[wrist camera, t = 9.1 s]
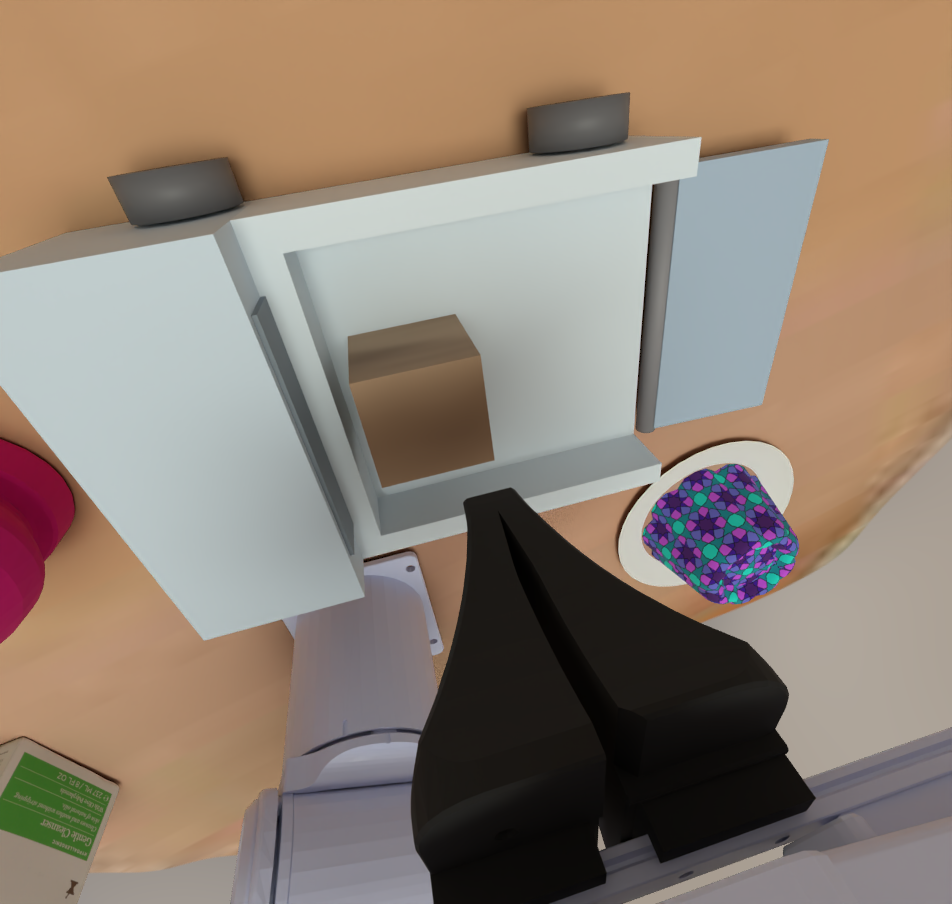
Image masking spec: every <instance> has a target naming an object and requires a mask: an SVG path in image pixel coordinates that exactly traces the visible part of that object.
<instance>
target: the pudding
mask: <svg viewBox="0 0 952 904" xmlns="http://www.w3.org/2000/svg"><path fill="white" fill-rule="evenodd" d="M723 463H737V464H728V465H725V466H724V467H722V468H720V469H718V470H717V471H712V470H709V469H703V470H700V469H702V468H705V467H708V466H712V465H716V464H723ZM738 464H741V465H744V466H747V467H748V468H750V469H752V470H753V471H754V472H755V473H756V474H757V476H758V478H759V480H760V481H759V480H758V478H757V477H756V476H750V475H749V474H748V472H747V471H746V469H745V468H744V467H743V466H740V465H738ZM697 470H700V471H697ZM695 471H697V472H695ZM693 472H694V473H693ZM691 473H693V474H691ZM689 474H691V475H690V476H688V477H687V478H685V479H684V480H683V482H682V483H681V485H680V486H679V488H678V489H677V490H674V491H672V492H669V493H666V494H665V495H664V496H663V497H661V496H662V494H663V493H664V492H666V491H667V490H668V489H669V488H670V487H671V486H672V485H674V484H675V483H676V482H678V481H679V480H681V479H682V478H684V477H686V476H687V475H689ZM793 483H794V477H793V469H792V466H791V464H790V461H789V459H788V458H787V457H786V456H785V455H784V453H783V452H782V451H780V450H779V449H777V448H776V447H774V446H772V445H769V444H766V443H762V442H756V441H739V442H730V443H726V444H722V445H719V446H715V447H712V448H709V449H707V450H704V451H702V452H699V453H697V454H695V455H693V456H691V457H689V458H688V459H686V460H684V461H682V462H680V463H679V464H677V465H676V466H674V467H673V468H672V469H670V470H669V471H667V472H666V473H665V474H663V475H662V476H661V477H660V481H658V482H654V483H653V484H652V485H651V486H650V487H649V488H648V489H647V490H646V491H645V492H644V494H643V495H642V496H641V497H640V498H639V499H638V501H637V502H636V504H635V505H634V506H633V508H632V509H631V511H630V512H629V514H628V516H627V518H626V520H625V522H624V525H623V527H622V530H621V534H620V537H619V546H618V553H619V558H620V562H621V564H622V566H623V568H624V570H625V571H626V572H627V573H628V574H629V575H630V576H631V577H632V578H634V579H636V580H637V581H639V582H642V583H645V584H648V585H653V586H661V587H662V586H677V585H683V584H688V585H690V586H691V587H692V588H693V589H694V590H696V591H697V592H698V593H699V594H701V595H702V596H703V597H704V598H706V599H707V600H709V601H711V602H714V603H718V604H726V603H731V604H742V603H745V602H748V601H750V600H751V599H752V598H754V597H755V596H757V595H763V594H765V593H767V592H769V591H770V590H772V589H773V588H774V587H775V586H776V585H777V584H778V582H779V580H780V579H782V578H783V577H785V576H786V575H788V574H789V573H790V571H791V570H792V569H793V567H794V565H795V556H796V555H797V554H798V550H799V543H798V539H797V536H796V535H795V533H794V532H793V530H792V529H791V527H790V526H789V524H788V523H787V521H786V520H785V518H784V517H783V513H784V511H785V509H786V507H787V505H788V503H789V500H790V497H791V494H792V490H793ZM660 497H661V498H660ZM659 498H660V499H659ZM658 499H659V500H658ZM657 500H658V501H657ZM656 501H657V502H656ZM655 502H656V504H655ZM654 504H655V506H654V508H653V509H652V511H651V512H652V517H653V520H652V521H651V522H650V523H649V524H648V525H647V526H646V527H645V528H644V532H643V536H642V537H643V540H644V543H645V544H646V545H647V546H649V547H650V548H651V549H652V555H653V556H654V557H655V558H656V559H657V560H656V559H654V558H653V557H651V556H650V555H649V554H648V553H647V552H646V551H645V549H644V547H643V545H642V539H641V535H642V527H643V524H644V521H645V519H646V517H647V515H648V513H649V511H650V509H651V508H652V506H653V505H654Z"/></svg>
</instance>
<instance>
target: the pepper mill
mask: <svg viewBox="0 0 952 904" xmlns="http://www.w3.org/2000/svg"><path fill="white" fill-rule="evenodd" d="M74 512H75V507H74V502H73V496H72V493H71V491H70V490H69V488H68V486H67V485H66V483H65V481H64V479H63V478H62V477H61V476H60V475H59V474H58V473H57V472H56V471H55V470H54V469H53V468H52V467H51V466H50V465H49V464H48V463H46V462H45V461H43V460H42V459H40V458H39V457H37V456H36V455H34V454H32V453H31V452H29V451H28V450H26V449H24V448H22V447H19V446H17V445H14V444H12V443H9V442H7V441H4V440H2V439H0V644H1V643H2V642H3V641H4V640H5V639H6V638H8V637H9V636H10V635H11V634H12V633H13V632H14V631H15V630H16V628H17V627H18V626H19V624H20V623H21V622H22V621H23V619H24V618H25V617H26V616H27V614H28V613H29V612H30V611H31V609H32V608H33V607H34V605H35V604H36V602H37V601H38V599H39V596H40V594H41V592H42V589H43V585H44V578H45V564H44V561H45V560H46V559H47V558H48V557H49V556H50V555H51V553H52V552H53V550H54V549H55V548H56V546H57V545H58V543H59V542H60V540H61V539H62V537H63V536H64V534H65V533H66V532H67V530H68V529H69V527H70V525H71V523H72V521H73V518H74Z"/></svg>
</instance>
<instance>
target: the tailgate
mask: <svg viewBox="0 0 952 904" xmlns="http://www.w3.org/2000/svg"><path fill="white" fill-rule="evenodd" d="M828 141H829V139H806V140H800V141H794V142H789V143H783V144H777V145H771V146H766V147H760V148H754V149H749V150H743V151H737V152H731V153H726V154H720V155H714V156H709V157H703V158H699V162H698V170H697V176H695V177H690V178H685V179H679V180H674V181H668V182H663V183H658V184H654V196H653V209H652V222H651V235H650V248H649V261H648V274H647V287H646V300H645V313H644V325H643V338H642V351H641V364H640V377H639V390H638V403H637V416H636V430H637V431H639V432H641V433H650V432H653V431H654V430H655V428H658V427H663V426H667V425H672V424H676V423H681V422H685V421H690V420H695V419H699V418H704V417H708V416H713V415H717V414H722V413H727V412H731V411H736V410H740V409H745V408H749V407H754V406H758V405H762V402H763V398H764V394H765V390H766V386H767V382H768V378H769V374H770V370H771V366H772V362H773V359H774V355H775V351H776V347H777V343H778V339H779V335H780V331H781V327H782V323H783V319H784V315H785V311H786V307H787V303H788V299H789V295H790V291H791V287H792V283H793V279H794V275H795V271H796V268H797V264H798V260H799V256H800V252H801V248H802V244H803V240H804V236H805V232H806V228H807V224H808V220H809V216H810V212H811V208H812V204H813V200H814V196H815V192H816V188H817V184H818V180H819V176H820V173H821V169H822V165H823V161H824V157H825V153H826V149H827V145H828Z"/></svg>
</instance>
